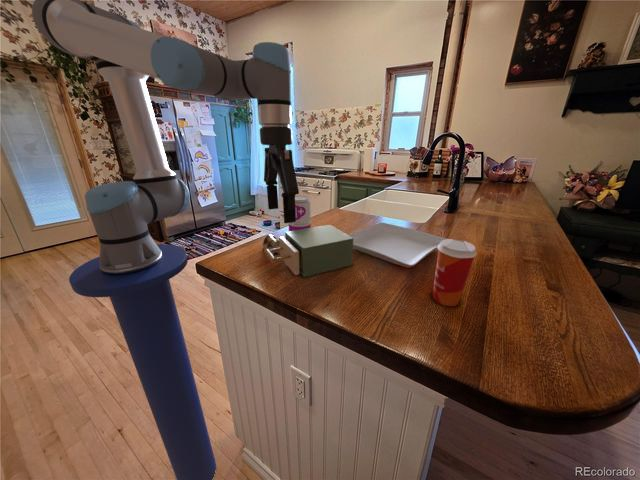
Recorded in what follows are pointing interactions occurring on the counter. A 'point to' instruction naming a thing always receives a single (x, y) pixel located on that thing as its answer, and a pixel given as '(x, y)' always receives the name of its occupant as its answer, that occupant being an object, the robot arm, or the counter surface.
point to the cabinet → (322, 248)
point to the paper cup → (452, 270)
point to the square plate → (395, 243)
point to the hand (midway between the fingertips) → (281, 215)
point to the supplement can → (301, 213)
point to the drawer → (287, 254)
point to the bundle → (271, 243)
